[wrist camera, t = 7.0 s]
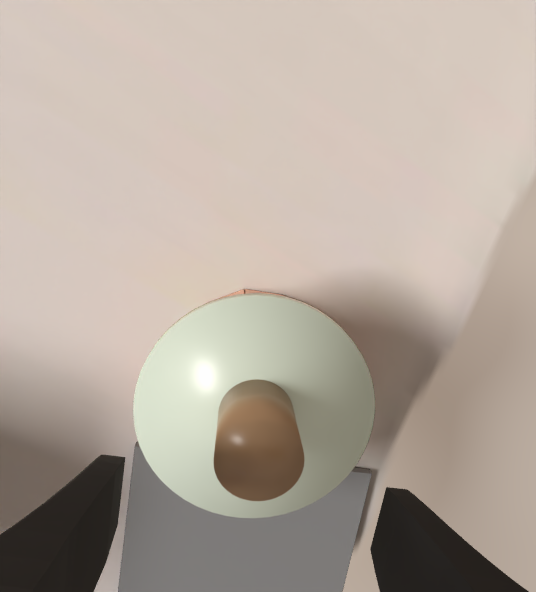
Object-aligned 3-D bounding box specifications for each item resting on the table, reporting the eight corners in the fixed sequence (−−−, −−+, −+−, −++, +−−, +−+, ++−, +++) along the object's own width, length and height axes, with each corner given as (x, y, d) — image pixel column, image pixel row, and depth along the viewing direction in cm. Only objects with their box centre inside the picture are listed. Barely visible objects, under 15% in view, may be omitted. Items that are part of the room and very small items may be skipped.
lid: (347, 516, 19) (372, 591, 15) (128, 497, 18) (100, 573, 14) (391, 309, 17) (432, 340, 13) (147, 277, 16) (120, 302, 12)
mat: (324, 651, 26) (325, 658, 26) (114, 634, 25) (112, 641, 24) (369, 469, 23) (371, 473, 23) (136, 441, 22) (134, 446, 22)
